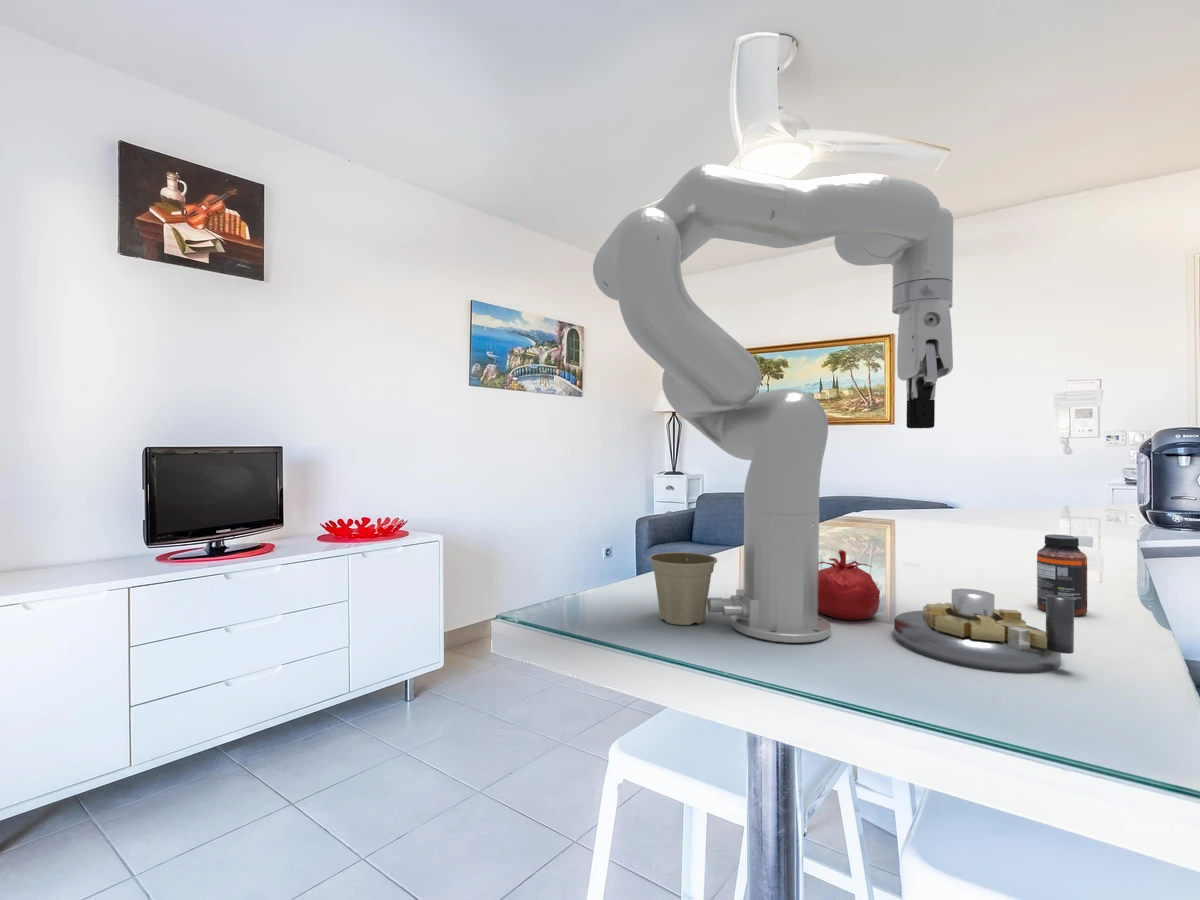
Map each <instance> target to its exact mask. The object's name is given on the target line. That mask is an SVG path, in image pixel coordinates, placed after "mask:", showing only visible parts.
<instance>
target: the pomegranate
mask: <svg viewBox="0 0 1200 900" xmlns="http://www.w3.org/2000/svg"><path fill="white" fill-rule="evenodd" d="M838 555H839V558H840V560H838V559H837V558H835V557H833V558H829V561H834V563H832V562H826V561H819V565H820V564H827V565H829V567H825V568H822V569H819V573H818V613H821V614H823V615H826V616H829V617H832V618H836V619H839V620H843V621H844V620H845V621H846V620H848V621H857V620H858V621H859V620H867V619H869V618H872V617H873V616H875V615H876V614H877V613H878V611H879V606H880V603H881V602H880V594H881V591H880V590H879V588H878V585H877V584H876V582H875V580H874V579H873V577H872V575H871V574H870V573H869V572H866V571H865V570H863V569H860V568H859V566H867V567H870V568H873V567H874V566H872V565H869V564H866V563H860V562H858V561H856V560H853V561H852V562H848V563H847V557H846V556H847V552H846V551H845V550H843V549H840V550H838Z"/></svg>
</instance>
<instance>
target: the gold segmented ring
mask: <svg viewBox="0 0 1200 900" xmlns="http://www.w3.org/2000/svg"><path fill="white" fill-rule="evenodd" d="M922 608H923V609H922V611H923V620H924V621H925V622H926V623H927V624H928V625H929V626H930V627H931V628H935V630H939V631H942V632H946V633H949V634H953V635H957V636H960V637H967V636H969V637H970V638H971V639H980V640H992V641H1004V642H1005V640H1007V641H1008V628H1009V627H1020V628H1023V629H1026V630H1029V631H1030V645H1034V646H1038V647H1042V648H1046V649H1048V650H1051V651H1054V652H1058V653H1061V654H1067V655H1068V654H1070V655H1071V654H1074V653H1075V651H1074V650H1075V648H1074V645H1075V616H1074V598H1071V597H1068V596H1062V595H1046V611H1045V631H1044V630H1042V631H1038V630H1034V629H1030V628H1026V625H1027V622H1026V621H1025V620H1024V619H1022V613H1021V612H1020V611H1018V610H1016V609H1004V608H999V609H996V608H994V619H992V618H991V617H990V616H983V615H975V621H973V620H967V619H963V618H959V617H955V616H951V608H952V602H951V603H950V602H944V603H942V602H937V603H926V604H925V605H923V607H922ZM1043 631H1044V632H1043Z"/></svg>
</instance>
